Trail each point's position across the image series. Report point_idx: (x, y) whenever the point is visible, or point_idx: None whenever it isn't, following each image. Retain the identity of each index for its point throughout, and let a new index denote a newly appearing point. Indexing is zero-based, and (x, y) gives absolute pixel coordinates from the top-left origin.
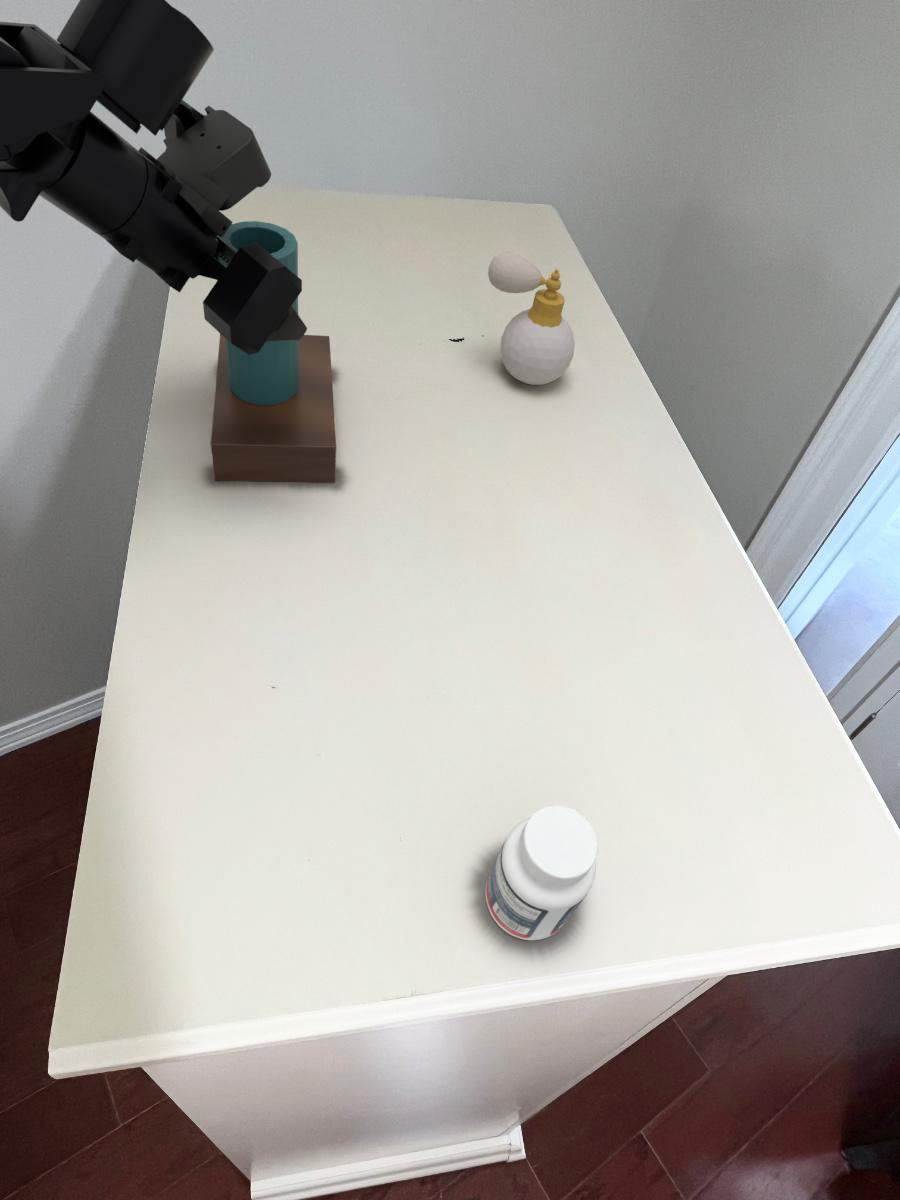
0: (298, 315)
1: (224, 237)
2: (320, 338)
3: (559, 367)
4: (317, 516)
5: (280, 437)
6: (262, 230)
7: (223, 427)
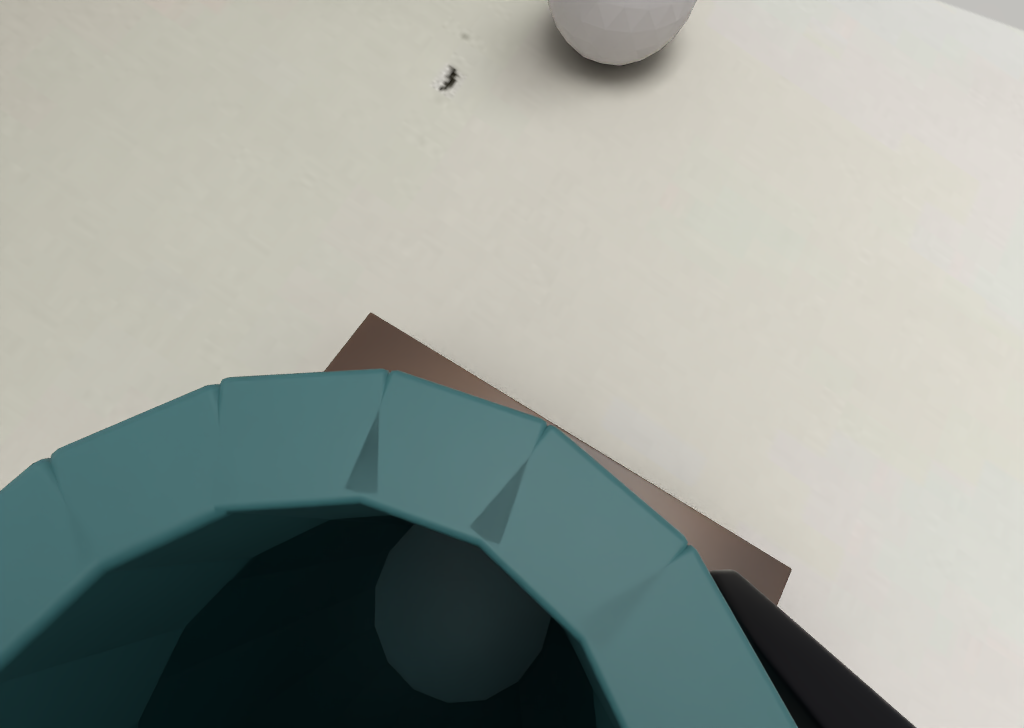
0: (883, 699)
1: None
2: (367, 337)
3: None
4: None
5: None
6: (72, 625)
7: None
